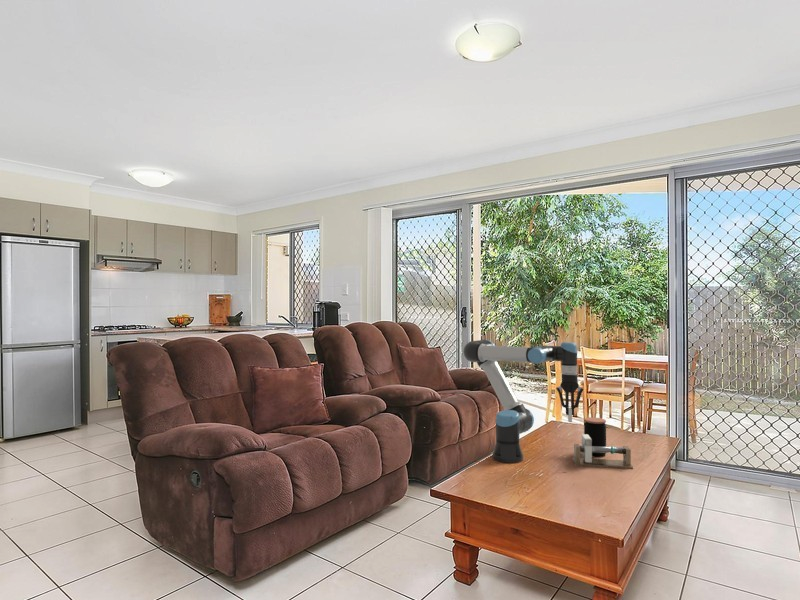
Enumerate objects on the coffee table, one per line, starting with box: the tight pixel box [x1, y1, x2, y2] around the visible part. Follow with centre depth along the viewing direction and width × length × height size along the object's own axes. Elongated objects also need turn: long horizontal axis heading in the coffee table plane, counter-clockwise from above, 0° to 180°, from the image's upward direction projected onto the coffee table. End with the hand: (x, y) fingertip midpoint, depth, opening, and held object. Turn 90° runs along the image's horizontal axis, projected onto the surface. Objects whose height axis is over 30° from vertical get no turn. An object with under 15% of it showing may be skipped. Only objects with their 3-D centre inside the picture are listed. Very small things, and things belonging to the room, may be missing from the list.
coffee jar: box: [583, 416, 607, 458], centre depth 265 cm, size 11×11×18 cm
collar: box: [581, 433, 593, 462], centre depth 250 cm, size 3×10×11 cm, turn 169°
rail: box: [572, 443, 634, 470], centre depth 248 cm, size 26×10×9 cm, turn 79°
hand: (570, 421), depth 251 cm, fingers closed
